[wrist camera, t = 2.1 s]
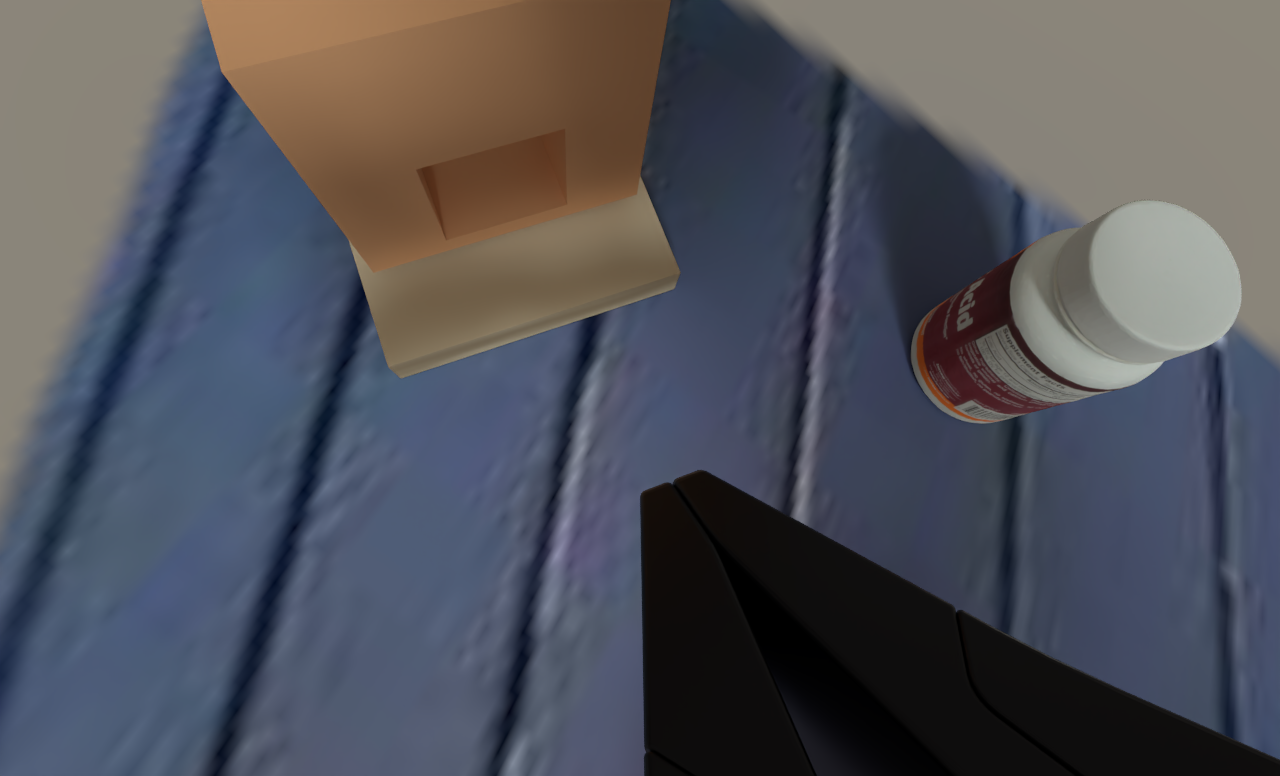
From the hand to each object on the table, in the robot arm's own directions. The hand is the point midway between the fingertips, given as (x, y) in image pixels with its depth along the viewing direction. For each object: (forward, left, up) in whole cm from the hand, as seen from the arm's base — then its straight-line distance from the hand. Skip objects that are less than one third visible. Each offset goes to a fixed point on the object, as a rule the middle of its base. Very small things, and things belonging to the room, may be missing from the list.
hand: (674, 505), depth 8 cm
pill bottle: (-8, -12, -14) cm, 20 cm away
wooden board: (+9, -7, -12) cm, 17 cm away
